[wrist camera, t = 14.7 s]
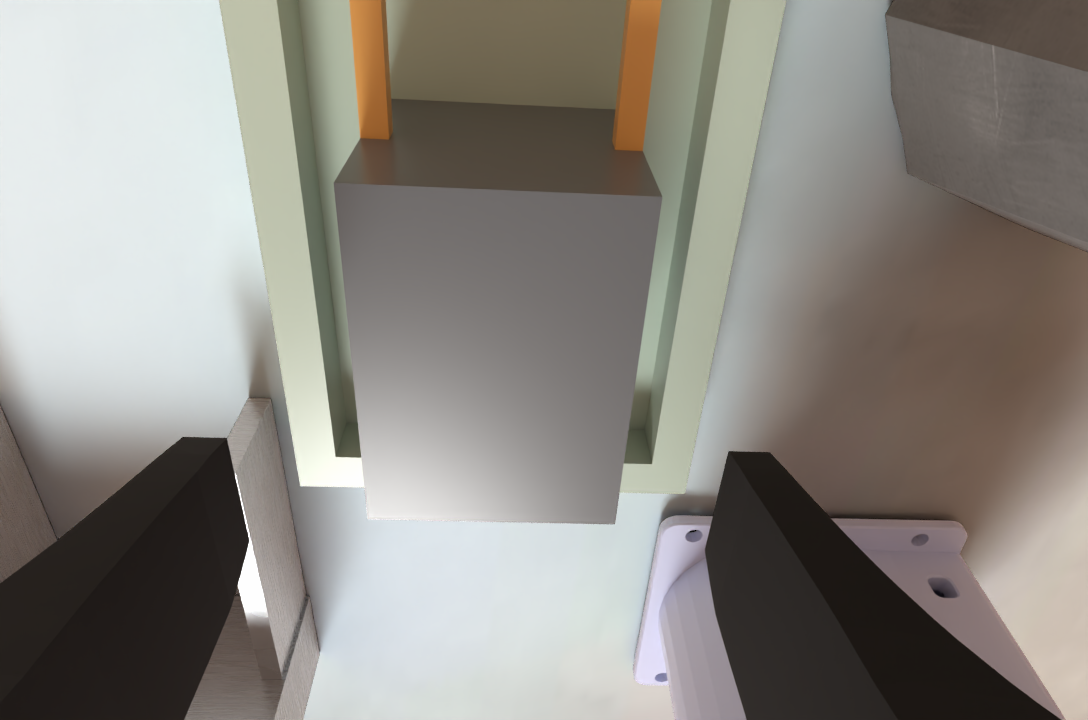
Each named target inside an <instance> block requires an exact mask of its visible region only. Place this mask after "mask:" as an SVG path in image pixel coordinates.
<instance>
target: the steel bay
mask: <svg viewBox="0 0 1088 720" xmlns="http://www.w3.org/2000/svg"><path fill="white" fill-rule="evenodd" d="M227 441H228V446H229V450H230V455H231V459H232V464H233V468H234V473H235V477H236V482H237V486H238V491H239V495H240V500H241V504H242V509H243V513H244V518H245V522H246V527H247V531H248V536H249V540H250V542H249V546H248V549H247V553H246V557H245V561H244V565H243V568H242V572H241V576H240V580H239V583H238V588H239V592H240V596H235V597H234V600H233V604H232V607H231V609H230V612H229V614H228V617H227V619H226V622H225V624H224V627H223V629H222V632H221V634H220V636H219V639H218V641H217V644H216V646H215V648H214V651H213V653H212V656H211V658H210V660H209V663H208V665H207V667H206V670H205V672H204V674H203V677H202V679H201V682H200V684H199V686H198V689H197V691H196V693H195V696H194V698H193V700H192V703H191V705H190V707H189V710H188V712H187V714H186V717H185V719H184V720H303V718H304V714H305V710H306V706H307V702H308V698H309V694H310V690H311V686H312V682H313V679H314V675H315V671H316V667H317V663H318V659H319V655H320V653H319V647H318V641H317V636H316V630H315V624H314V619H313V613H312V607H311V602H310V597H307V596H306V591H305V585H304V580H303V574H302V569H301V563H300V558H299V552H298V546H297V541H296V535H295V530H294V524H293V519H292V513H291V507H290V502H289V496H288V491H287V485H286V480H285V474H284V469H283V463H282V457H281V452H280V446H279V441H278V435H277V430H276V424H275V419H274V413H273V407H272V402H271V398H248V399H247V401H246V403H245V405H244V407H243V409H242V411H241V413H240V415H239V417H238V419H237V420H236V422H235V424H234V426H233V428H232V430H231V432H230V434H229V436H228V438H227ZM56 541H57V538H56V536H55V534H54V531H53V529H52V526H51V524H50V522H49V519H48V517H47V515H46V512H45V510H44V508H43V505H42V503H41V500H40V498H39V496H38V493H37V491H36V489H35V486H34V484H33V482H32V479H31V477H30V474H29V472H28V470H27V467H26V465H25V463H24V460H23V458H22V456H21V453H20V451H19V448H18V446H17V444H16V441H15V439H14V437H13V434H12V432H11V430H10V427H9V425H8V422H7V420H6V418H5V415H4V413H3V411H2V408H1V406H0V583H1V582H3V581H4V580H5V579H7V578H8V577H9V576H11V575H12V574H13V573H15V572H16V571H17V570H19V569H20V568H21V567H23V566H24V565H25V564H27V563H28V562H29V561H31V560H32V559H33V558H35V557H36V556H37V555H39V554H40V553H41V552H43V551H44V550H45V549H47V548H48V547H49V546H51V545H52V544H53V543H55V542H56Z"/></svg>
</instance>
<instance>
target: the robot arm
mask: <svg viewBox="0 0 1088 720" xmlns="http://www.w3.org/2000/svg"><path fill="white" fill-rule="evenodd" d="M691 530H697V531H695V532H692V533H689V531H691ZM916 535H917V536H916ZM967 536H968V535H967V532H966V530H965V529H964V527H963V526H962V524H960V523H959V522H957V521H944V520H891V519H838V518H830V517H829V516H828V515H827V514H826V513H825V512H824V511H823V509H822V508H821V507H820V506H819V505H818V504H817V503H816V502H815V501H814V500H813V499H812V498H811V497H810V495H809V494H808V493H807V492H806V491H805V490H804V489H803V488H802V487H801V486H800V485H799V483H798V482H797V481H796V480H795V479H794V478H793V477H792V476H791V475H790V474H789V473H788V471H787V470H786V469H785V468H784V467H783V466H782V465H781V464H780V463H779V462H778V461H777V460H776V459H775V458H774V456H773V455H772V454H771V453H770V452H733V451H729V452H728V456H727V460H726V464H725V468H724V472H723V477H722V481H721V485H720V489H719V493H718V497H717V501H716V505H715V509H714V514H713V516H679V515H677V516H671V517H669V518H666V519H665V520H664V521H663V522H661V525H660V527H659V531H658V537H657V542H656V547H655V553H654V558H653V563H652V569H651V574H650V580H649V585H648V590H647V596H646V601H645V606H644V612H643V617H642V622H641V628H640V633H639V638H638V644H637V649H636V654H635V660H634V665H633V673H634V680H635V681H636V682H638V683H640V684H642V685H669V690H670V695H671V701H672V706H673V712H674V717H675V720H1065V718H1064V716H1063V715H1062V713H1061V711H1060V709H1059V708H1058V706H1057V705H1056V703H1055V702H1054V700H1053V699H1052V697H1051V695H1050V694H1049V692H1048V691H1047V689H1046V688H1045V686H1044V685H1043V683H1042V681H1041V680H1040V678H1039V677H1038V675H1037V674H1036V672H1035V670H1034V669H1033V667H1032V666H1031V664H1030V663H1029V661H1028V660H1027V658H1026V656H1025V655H1024V653H1023V652H1022V650H1021V649H1020V647H1019V646H1018V644H1017V642H1016V641H1015V639H1014V638H1013V636H1012V635H1011V633H1010V632H1009V630H1008V628H1007V627H1006V625H1005V624H1004V622H1003V621H1002V619H1001V617H1000V616H999V614H998V613H997V611H996V610H995V608H994V607H993V605H992V603H991V602H990V600H989V599H988V597H987V596H986V594H985V593H984V591H983V589H982V588H981V586H980V585H979V583H978V582H977V580H976V578H975V577H974V575H973V574H972V572H971V571H970V569H969V568H968V566H967V564H966V563H965V561H964V560H963V558H962V557H961V555H960V552H961V550H962V548H963V546H964V544H965V542H966V540H967ZM249 542H250V540H249V536H248V531H247V527H246V522H245V518H244V513H243V509H242V504H241V500H240V495H239V491H238V486H237V482H236V477H235V473H234V468H233V464H232V459H231V455H230V450H229V446H228V441H227V438H199V437H183V438H181V439H180V440H179V441H177V442H176V443H175V444H174V445H172V446H171V447H170V448H169V449H167V450H166V451H165V452H164V453H163V454H161V455H160V456H159V457H158V458H157V459H155V460H154V461H153V462H152V463H151V464H149V465H148V466H147V467H146V468H145V469H143V470H142V471H141V472H140V473H139V474H138V475H136V476H135V477H134V478H133V479H132V480H130V481H129V482H128V483H127V484H126V485H124V486H123V487H122V488H121V489H120V490H118V491H117V492H116V493H115V494H114V495H113V496H111V497H110V498H109V499H108V500H106V501H105V502H104V503H103V504H101V505H100V506H99V507H98V508H97V509H95V510H94V511H93V512H92V513H90V514H89V515H88V516H87V517H86V518H84V519H83V520H82V521H81V522H79V523H78V524H77V525H76V526H75V527H73V528H72V529H71V530H70V531H68V532H67V533H66V534H65V535H63V536H62V537H61V538H60V539H58V540H57V541H56V542H55V543H53V544H52V545H51V546H49V547H48V548H47V549H45V550H44V551H43V552H41V553H40V554H39V555H37V556H36V557H35V558H33V559H32V560H31V561H29V562H28V563H27V564H25V565H24V566H23V567H21V568H20V569H19V570H17V571H16V572H15V573H13V574H12V575H11V576H9V577H8V578H7V579H5V580H4V581H3V582H1V583H0V720H184V719H185V717H186V714H187V712H188V710H189V707H190V705H191V703H192V700H193V698H194V696H195V693H196V691H197V689H198V686H199V684H200V682H201V679H202V677H203V674H204V672H205V670H206V667H207V665H208V663H209V660H210V658H211V656H212V653H213V651H214V648H215V646H216V644H217V641H218V639H219V636H220V634H221V632H222V629H223V627H224V624H225V622H226V619H227V617H228V614H229V612H230V609H231V607H232V604H233V600H234V597H235V593H236V590H237V586H238V583H239V580H240V576H241V572H242V568H243V565H244V561H245V557H246V553H247V549H248V546H249Z"/></svg>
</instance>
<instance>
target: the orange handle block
mask: <svg viewBox="0 0 1088 720" xmlns="http://www.w3.org/2000/svg"><path fill="white" fill-rule="evenodd" d="M349 3H350V15H351V28H352V41H353V53H354V66H355V79H356V92H357V104H358V117H359V130H360V139H359V141H358V143H357V144H356V146H355V148H354V149H353V151H352V153H351V154H350V156H349V158H348V159H347V161H346V163H345V165H344V166H343V168H342V170H341V171H340V173H339V175H338V176H337V178H336V180H335V181H334V193H335V203H336V212H337V222H338V232H339V242H340V252H341V262H342V272H343V281H344V291H345V301H346V311H347V321H348V331H349V341H350V350H351V360H352V370H353V380H354V390H355V400H356V410H357V420H358V429H359V439H360V449H361V459H362V469H363V479H364V489H365V498H366V508H367V518H368V519H380V520H429V521H479V522H529V523H579V524H615V520H616V513H617V506H618V499H619V492H620V486H621V479H622V472H623V465H624V458H625V451H626V444H627V437H628V431H629V424H630V417H631V410H632V403H633V396H634V389H635V383H636V376H637V369H638V362H639V355H640V348H641V341H642V335H643V328H644V321H645V314H646V307H647V300H648V293H649V286H650V280H651V273H652V266H653V259H654V252H655V245H656V238H657V232H658V225H659V218H660V211H661V204H662V194H661V192H660V190H659V188H658V185H657V183H656V181H655V178H654V176H653V174H652V171H651V169H650V167H649V164H648V162H647V160H646V157H645V155H644V153H643V145H644V137H645V129H646V121H647V113H648V106H649V98H650V90H651V82H652V74H653V66H654V58H655V50H656V42H657V34H658V26H659V18H660V11H661V3H662V0H627V2H626V12H625V22H624V31H623V41H622V51H621V60H620V70H619V80H618V89H617V99H616V109H595V108H574V107H553V106H532V105H512V104H491V103H470V102H450V101H429V100H408V99H391V86H390V68H389V50H388V32H387V13H386V0H349Z"/></svg>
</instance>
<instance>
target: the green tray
mask: <svg viewBox="0 0 1088 720" xmlns="http://www.w3.org/2000/svg"><path fill="white" fill-rule="evenodd" d="M626 2H627V0H386V13H387V32H388V50H389V68H390V86H391V99H408V100H429V101H450V102H470V103H491V104H512V105H532V106H553V107H574V108H595V109H616V99H617V89H618V80H619V70H620V60H621V51H622V41H623V31H624V22H625V12H626ZM219 3H220V9H221V15H222V21H223V27H224V33H225V39H226V45H227V51H228V57H229V63H230V69H231V75H232V81H233V87H234V93H235V99H236V105H237V111H238V117H239V123H240V129H241V135H242V141H243V147H244V153H245V159H246V165H247V171H248V177H249V183H250V189H251V195H252V201H253V207H254V213H255V219H256V225H257V231H258V237H259V243H260V249H261V255H262V261H263V267H264V273H265V279H266V285H267V291H268V297H269V303H270V309H271V315H272V321H273V327H274V333H275V339H276V345H277V351H278V357H279V363H280V369H281V375H282V381H283V387H284V393H285V399H286V405H287V410H288V416H289V422H290V428H291V434H292V440H293V446H294V452H295V458H296V464H297V470H298V476H299V482H300V486H316V487H364V479H363V469H362V459H361V449H360V439H359V429H358V420H357V410H356V400H355V390H354V380H353V370H352V360H351V350H350V341H349V331H348V321H347V311H346V301H345V291H344V281H343V272H342V262H341V252H340V242H339V232H338V222H337V212H336V203H335V193H334V181H335V180H336V178H337V176H338V175H339V173H340V171H341V170H342V168H343V166H344V165H345V163H346V161H347V159H348V158H349V156H350V154H351V153H352V151H353V149H354V148H355V146H356V144H357V143H358V141H359V139H360V130H359V117H358V104H357V92H356V79H355V66H354V53H353V41H352V28H351V15H350V3H349V0H219ZM785 5H786V0H662V3H661V11H660V18H659V26H658V34H657V42H656V50H655V58H654V66H653V74H652V82H651V90H650V98H649V106H648V113H647V121H646V129H645V137H644V145H643V153H644V155H645V157H646V160H647V162H648V164H649V167H650V169H651V171H652V174H653V176H654V178H655V181H656V183H657V185H658V188H659V190H660V192H661V194H662V204H661V211H660V218H659V225H658V232H657V238H656V245H655V252H654V259H653V266H652V273H651V280H650V286H649V293H648V300H647V307H646V314H645V321H644V328H643V335H642V341H641V348H640V355H639V362H638V369H637V376H636V383H635V389H634V396H633V403H632V410H631V417H630V424H629V431H628V437H627V444H626V451H625V458H624V465H623V472H622V479H621V486H620V492H619V493H662V494H685V491H686V486H687V481H688V476H689V471H690V466H691V461H692V457H693V452H694V447H695V442H696V437H697V432H698V427H699V423H700V418H701V413H702V408H703V403H704V398H705V393H706V389H707V384H708V379H709V374H710V369H711V364H712V359H713V355H714V350H715V345H716V340H717V335H718V330H719V325H720V321H721V316H722V311H723V306H724V301H725V296H726V291H727V287H728V282H729V277H730V272H731V267H732V262H733V257H734V253H735V248H736V243H737V238H738V233H739V228H740V223H741V219H742V214H743V209H744V204H745V199H746V194H747V189H748V185H749V180H750V175H751V170H752V165H753V160H754V155H755V151H756V146H757V141H758V136H759V131H760V126H761V121H762V117H763V112H764V107H765V102H766V97H767V92H768V87H769V83H770V78H771V73H772V68H773V63H774V58H775V53H776V49H777V44H778V39H779V34H780V29H781V24H782V19H783V15H784V10H785Z"/></svg>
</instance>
